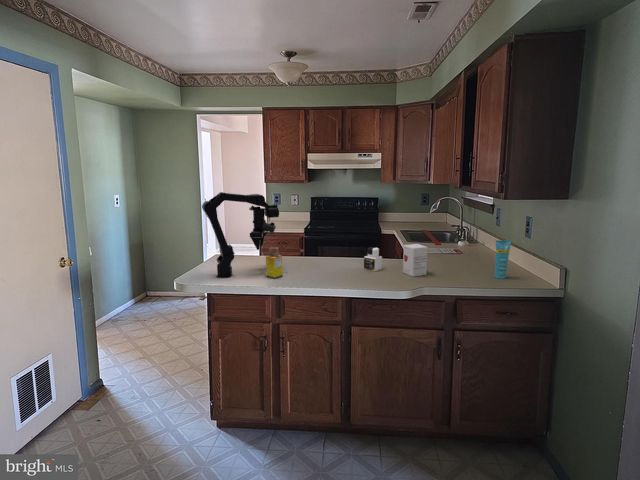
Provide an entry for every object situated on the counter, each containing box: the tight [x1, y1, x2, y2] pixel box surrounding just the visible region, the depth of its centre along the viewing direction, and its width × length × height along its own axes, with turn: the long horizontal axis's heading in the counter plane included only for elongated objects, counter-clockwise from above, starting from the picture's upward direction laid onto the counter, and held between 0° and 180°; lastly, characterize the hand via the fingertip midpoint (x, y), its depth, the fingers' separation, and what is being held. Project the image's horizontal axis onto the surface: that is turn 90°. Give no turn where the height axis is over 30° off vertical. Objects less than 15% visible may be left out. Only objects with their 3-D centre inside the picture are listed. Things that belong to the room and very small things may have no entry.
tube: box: [494, 239, 512, 280], centre depth 205 cm, size 7×5×19 cm, turn 92°
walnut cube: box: [268, 246, 280, 257], centre depth 207 cm, size 4×4×4 cm
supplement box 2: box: [402, 243, 429, 278], centre depth 213 cm, size 9×9×15 cm
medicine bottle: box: [363, 246, 383, 272], centre depth 222 cm, size 7×7×12 cm
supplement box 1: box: [265, 254, 283, 279], centre depth 209 cm, size 6×6×11 cm
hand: (259, 247), depth 217 cm, fingers open, 9 cm apart
